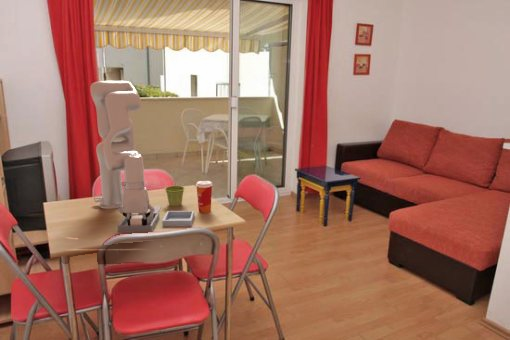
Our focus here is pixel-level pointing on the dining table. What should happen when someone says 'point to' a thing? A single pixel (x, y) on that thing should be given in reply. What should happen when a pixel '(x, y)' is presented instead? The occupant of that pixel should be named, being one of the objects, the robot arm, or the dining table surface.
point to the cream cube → (136, 220)
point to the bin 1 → (138, 228)
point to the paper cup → (204, 196)
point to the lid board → (156, 208)
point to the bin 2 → (178, 218)
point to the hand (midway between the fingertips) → (137, 226)
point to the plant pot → (175, 195)
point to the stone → (150, 217)
